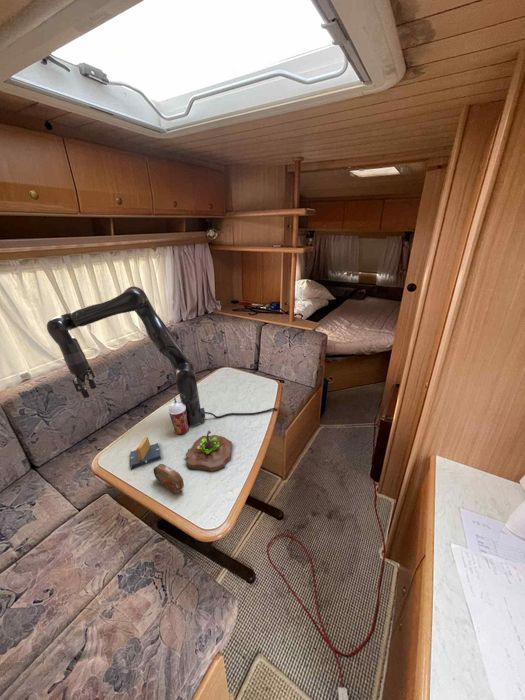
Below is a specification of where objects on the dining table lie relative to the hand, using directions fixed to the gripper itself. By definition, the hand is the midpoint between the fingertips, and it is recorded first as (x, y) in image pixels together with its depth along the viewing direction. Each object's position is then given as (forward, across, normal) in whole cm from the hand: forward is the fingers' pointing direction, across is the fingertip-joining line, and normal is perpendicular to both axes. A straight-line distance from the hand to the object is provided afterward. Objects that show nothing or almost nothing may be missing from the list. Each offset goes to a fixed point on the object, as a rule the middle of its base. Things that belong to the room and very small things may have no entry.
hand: (90, 392), depth 125 cm
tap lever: (+28, -17, -19) cm, 38 cm away
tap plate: (+30, -17, -19) cm, 39 cm away
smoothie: (+31, -2, -34) cm, 46 cm away
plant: (+33, -22, -48) cm, 62 cm away
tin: (+32, -35, -31) cm, 57 cm away
